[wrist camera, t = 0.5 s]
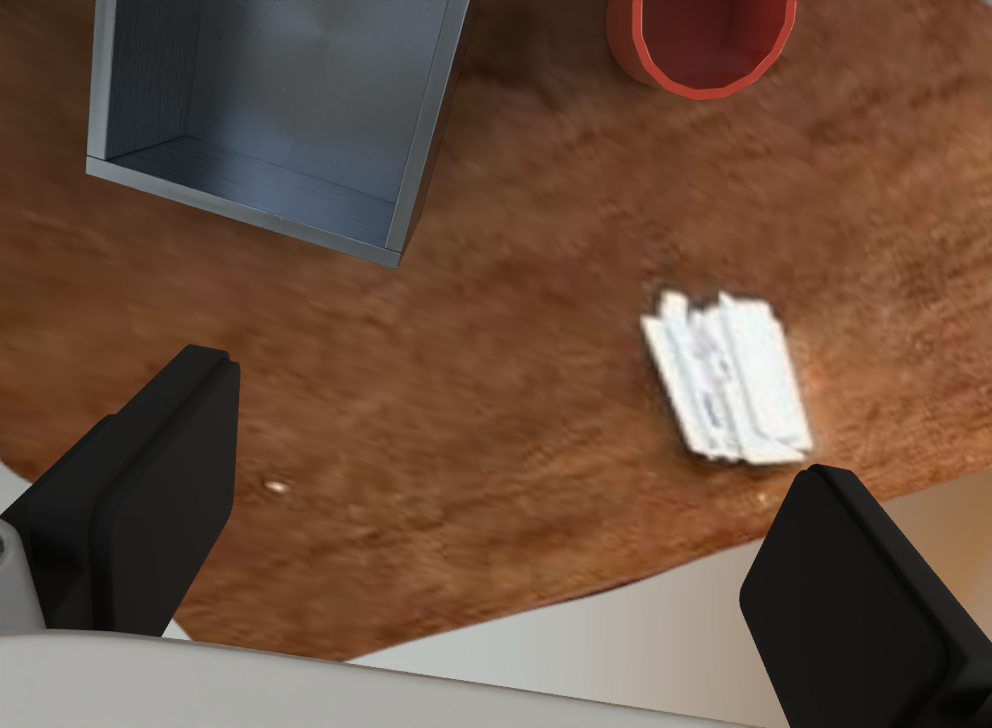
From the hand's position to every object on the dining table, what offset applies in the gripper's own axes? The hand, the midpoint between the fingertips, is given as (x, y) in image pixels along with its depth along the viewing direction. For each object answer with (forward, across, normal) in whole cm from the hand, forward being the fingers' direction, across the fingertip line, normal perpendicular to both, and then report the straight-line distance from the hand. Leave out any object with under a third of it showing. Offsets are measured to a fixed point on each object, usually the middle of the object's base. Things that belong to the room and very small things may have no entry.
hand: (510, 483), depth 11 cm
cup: (+29, -6, -9) cm, 31 cm away
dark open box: (+29, +10, -5) cm, 31 cm away
